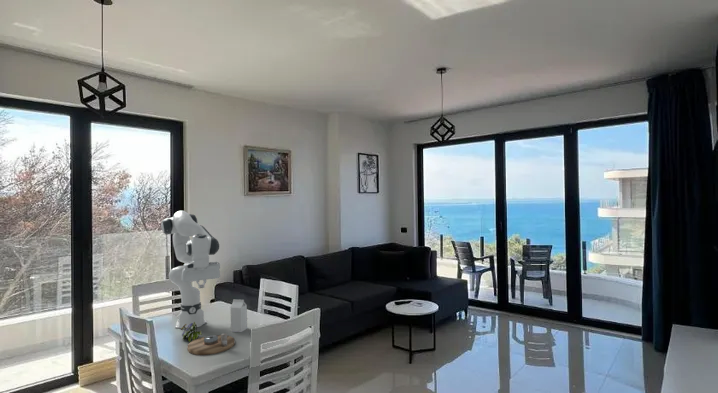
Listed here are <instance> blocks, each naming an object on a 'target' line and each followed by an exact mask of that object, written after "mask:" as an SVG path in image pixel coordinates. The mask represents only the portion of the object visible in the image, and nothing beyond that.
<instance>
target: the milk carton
mask: <svg viewBox="0 0 718 393" xmlns="http://www.w3.org/2000/svg"><path fill="white" fill-rule="evenodd" d="M247 307H248V304H247V303H246V302H245V299H233V300H232V304H231V305H230V308H229V309H230V332H232V333H233V332H234V333H235V332H236V333H243V332H244V331H246V330H247V329H248V308H247Z"/></svg>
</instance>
